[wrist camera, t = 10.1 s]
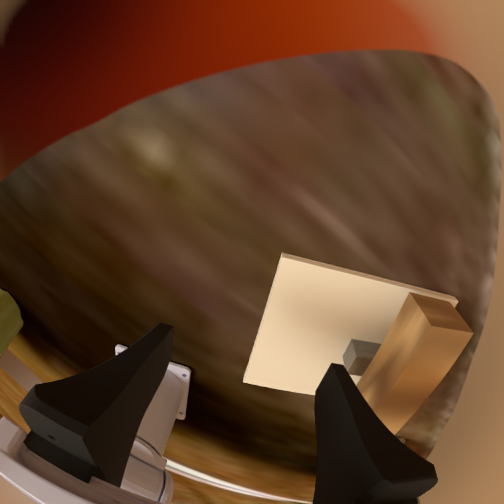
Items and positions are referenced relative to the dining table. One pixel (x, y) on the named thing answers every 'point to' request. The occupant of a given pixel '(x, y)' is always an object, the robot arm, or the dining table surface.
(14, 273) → the dining table surface
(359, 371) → the fulcrum strip
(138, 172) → the dining table surface
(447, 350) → the oak bar
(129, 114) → the dining table surface
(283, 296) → the serving board
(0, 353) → the plant pot
